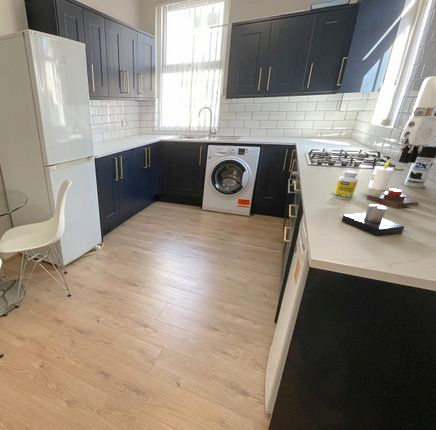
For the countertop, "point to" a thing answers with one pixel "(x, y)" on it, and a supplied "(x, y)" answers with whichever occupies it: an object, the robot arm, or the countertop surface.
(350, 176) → the pill bottle
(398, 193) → the button
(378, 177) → the candle
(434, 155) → the spray can
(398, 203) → the button housing
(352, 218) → the panel
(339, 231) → the countertop surface
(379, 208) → the knob
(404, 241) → the countertop surface
